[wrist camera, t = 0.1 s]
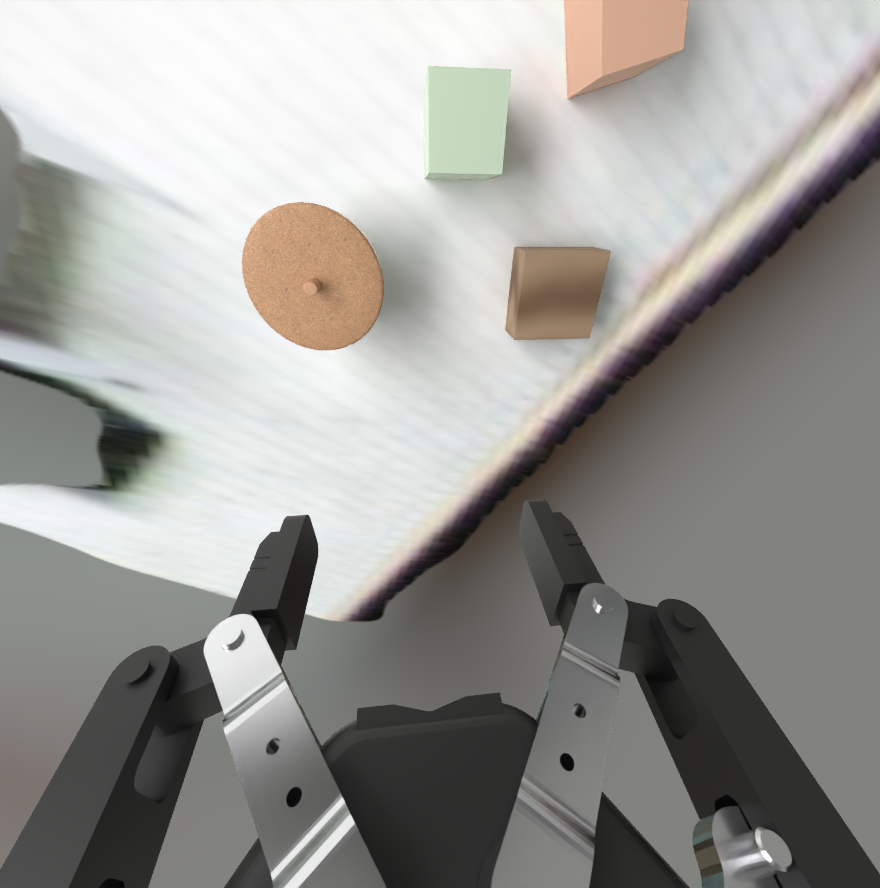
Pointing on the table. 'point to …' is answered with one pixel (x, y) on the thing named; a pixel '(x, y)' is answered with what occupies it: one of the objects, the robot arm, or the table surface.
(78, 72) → the table surface
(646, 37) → the terracotta block
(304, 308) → the lidded jar
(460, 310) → the table surface
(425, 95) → the sage block
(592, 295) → the walnut base
